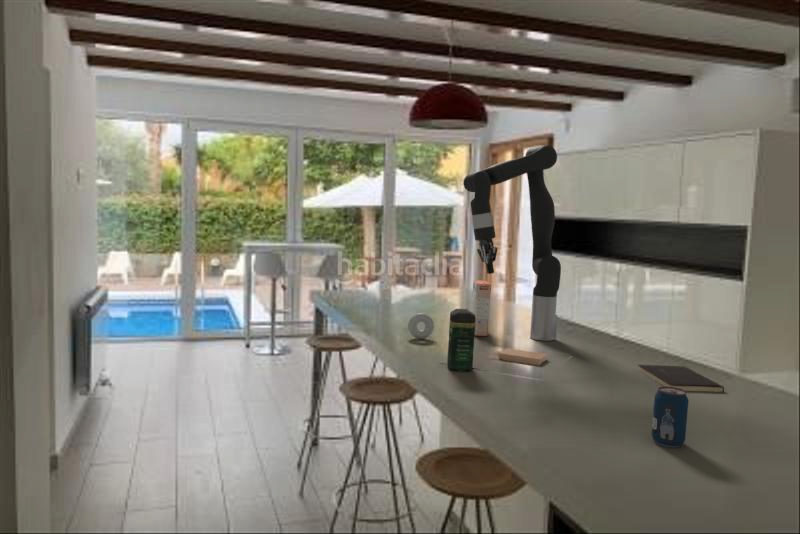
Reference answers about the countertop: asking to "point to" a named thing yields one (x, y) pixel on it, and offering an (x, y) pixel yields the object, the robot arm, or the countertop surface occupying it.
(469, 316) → the coffee jar
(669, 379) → the hardcover book
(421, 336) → the donut
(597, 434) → the countertop surface
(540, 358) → the tile
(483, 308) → the cracker box
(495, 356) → the board
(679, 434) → the soda can
